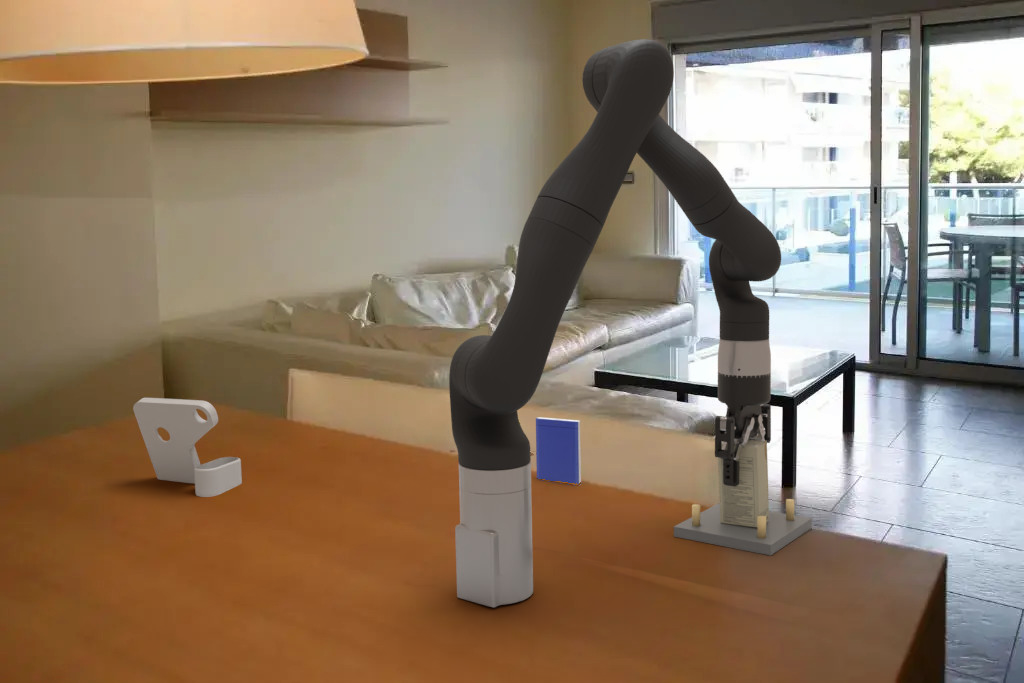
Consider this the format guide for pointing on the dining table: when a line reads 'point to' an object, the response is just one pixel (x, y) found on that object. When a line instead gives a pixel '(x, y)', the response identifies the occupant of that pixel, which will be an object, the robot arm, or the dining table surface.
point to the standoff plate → (744, 530)
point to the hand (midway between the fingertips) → (743, 479)
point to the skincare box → (746, 487)
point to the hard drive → (558, 450)
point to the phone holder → (184, 444)
